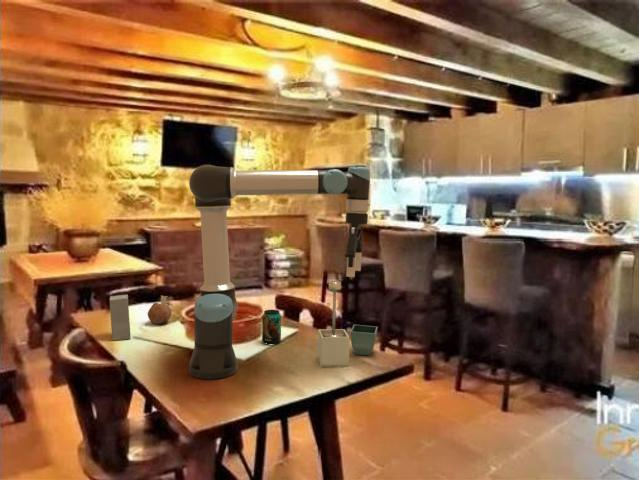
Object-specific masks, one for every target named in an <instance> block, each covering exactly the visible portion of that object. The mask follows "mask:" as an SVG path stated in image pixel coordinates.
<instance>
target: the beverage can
mask: <svg viewBox="0 0 639 480" xmlns="http://www.w3.org/2000/svg"><path fill="white" fill-rule="evenodd" d="M261 319H262V321H261V323H262V324H261V325H262V327H261V329H262V331H261V342H262V343H263V342H264V343H267V344H276V345H278V344H279V343H281V341H282V314H281V313H280V310H278V309H267V310H264V311H263V315H262V317H261ZM264 343H263V344H264ZM267 344H266V345H267Z"/></svg>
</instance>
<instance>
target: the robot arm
mask: <svg viewBox="0 0 639 480" xmlns="http://www.w3.org/2000/svg"><path fill="white" fill-rule="evenodd" d="M188 181H189V182H188V185H189V189H190V192H191V193H192V195H193V196H194V206H195V209H196V210H197V211H199V213H200V214H199V215H200V229H201V230H200V231H201V247H202V249H201V250H202V263H203V280H204V281H203V284H202V286H200V288H199V292H200V293H199V294H200V296H199V297H197V298H196V299H195V301H194V308H193V313H194V314H193V315H194V316H193V317H194V318H193V319H194V329H193V330H194V336H193V337H194V348H193V351H192V354H191V357H190V360H189V363H188V374H189V375H190V376H191V377H193V378H196V379H202V380H218V379H224V378H228V377H230V376H233V375H234V374H236V373H237V371H238V369H239V368H238V367H239V365H238V364H239V363H238V359H237V356H236V353H235V349H234V347H233V321H234V318H235V316H236V315H237V314H236V313H237V311H238V301H237V298H236V285H235V284H233V282H232V281H231V274H230V273H231V272H230V255H229V254H230V253H229V233H228V231H229V230H228V214H227V213H228V210H229V209H230V208H231V207H232V205H231V203H232V202H231V199H234V198H235V197H237V196H271V195H272V196H274V195H276V196H279V195H283V196H284V195H288V196H289V195H333V196H334V195H346V201H345V202H346V205H345V208H346V209H345V211H347V212H346V213H345V223H346V224H348V225H351V227H349V228H348V230H349V232H348V240H347V247H346V253H345V254H344V257H345V258H346V275H345V276H346V278H347V277H349V278H355V276H356V274H355V273H356V272H357V271H358V272H361V269H362V255H363V254H362V253H364V252H365V250H364V248H363V246H364V245H363V225H367V224H368V223H369V222H368V219H369V218H368V217H369V214H368V212H369V207H370V206H371V203H370V202H369V199H370V185H371V170H370V168H369V167H367V166H349V167H348V169H347V171H342V170H340V169H338V168H336V169H335V168H331V169H293V170H292V169H290V170H289V169H288V170H287V169H283V170H281V169H274V170H272V169H271V170H270V169H268V170H267V169H266V170H265V169H262V170H261V169H260V170H257V169H255V170H254V169H253V170H249V169H248V170H244V169H243V170H240V169H239V170H236V169H235V168H234V167H233V166H229V167H228V166H216V165H212V164H203V165H199V166H198V167H197V168H195V169H194V170H192V173H191V174H190V177H189V180H188Z"/></svg>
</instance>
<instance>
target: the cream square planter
mask: <svg viewBox="0 0 639 480" xmlns="http://www.w3.org/2000/svg"><path fill="white" fill-rule="evenodd" d="M327 331H332V328H331V329H329V328H328V329H327V328H326V329H325V328H324V329H318V330H317V357H316V358H317V360H318V363H319V366H320V368H349V366H350V365H349V363H350V340H351V336H350V335H349V334H348V332H347V331H346V329H345V328H344V329H343V328H340V329H339V328H335V331H338V332H341V333H343V337H324V333H325V332H327Z"/></svg>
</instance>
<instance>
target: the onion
mask: <svg viewBox="0 0 639 480" xmlns="http://www.w3.org/2000/svg"><path fill="white" fill-rule="evenodd" d="M170 307H171V306H168V305H167V304H161V303H159V302H153V304H152V305H151V306H150V308H149V309H148V311H147V318H148V320H149V322H151V324H154V325H160V326H162V325H165V324H166V323H168V322H169V320H170V319H171V317H172V309H171V308H170Z"/></svg>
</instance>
